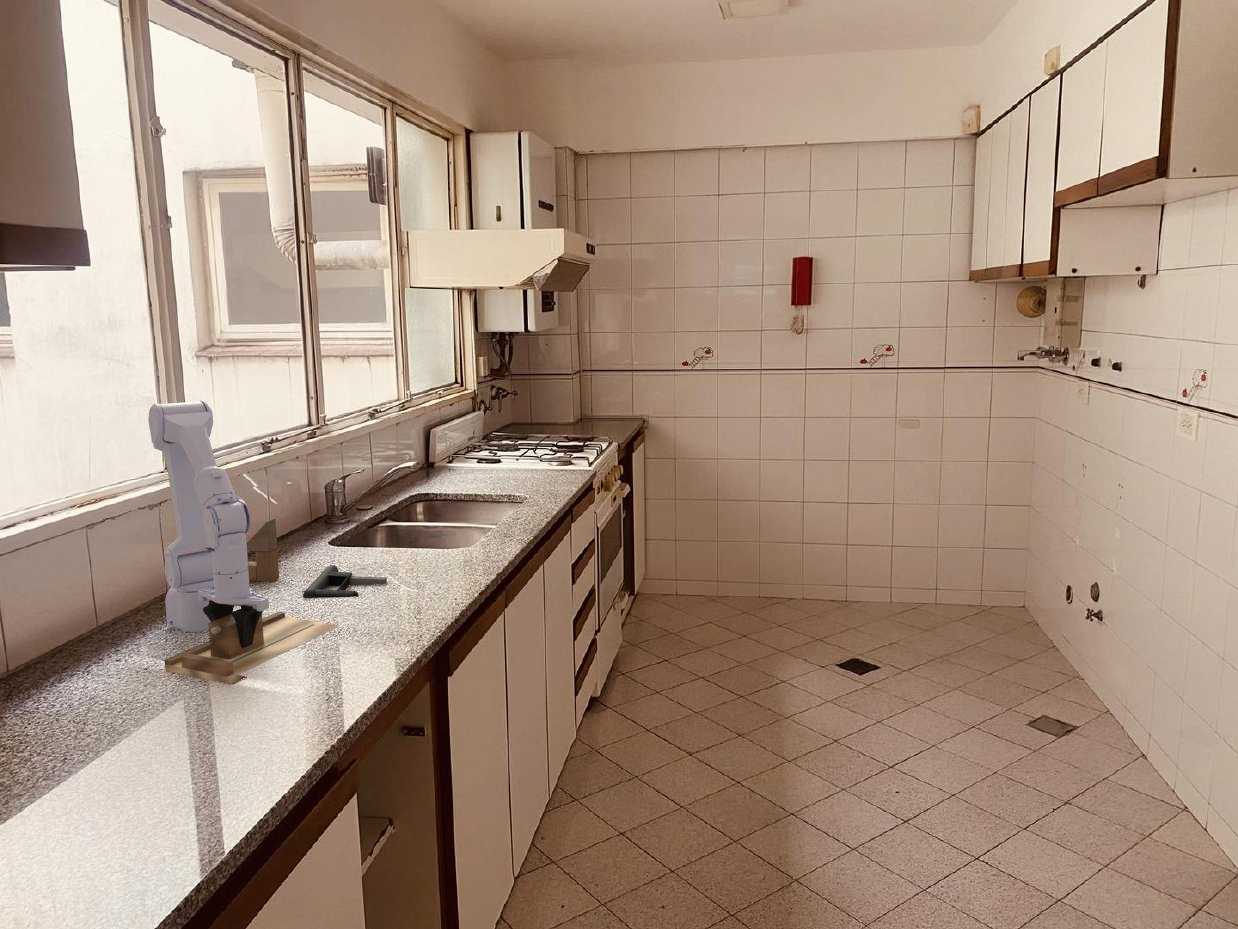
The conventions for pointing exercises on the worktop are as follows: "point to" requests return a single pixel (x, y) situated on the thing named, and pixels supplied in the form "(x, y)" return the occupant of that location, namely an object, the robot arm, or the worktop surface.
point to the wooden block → (264, 554)
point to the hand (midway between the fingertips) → (236, 644)
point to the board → (277, 640)
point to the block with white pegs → (231, 638)
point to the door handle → (338, 584)
